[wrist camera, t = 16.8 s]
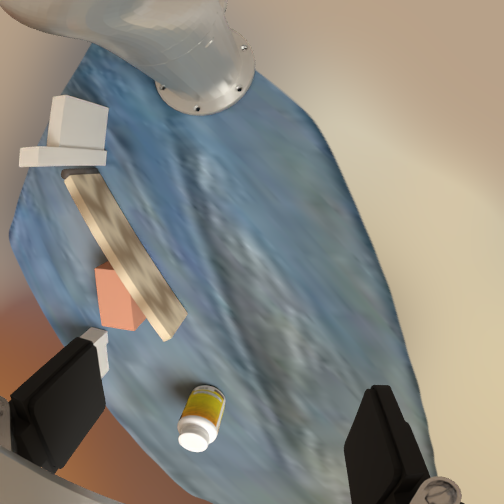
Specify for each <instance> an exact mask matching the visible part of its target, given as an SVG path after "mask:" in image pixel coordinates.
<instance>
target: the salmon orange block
mask: <svg viewBox="0 0 504 504" xmlns="http://www.w3.org/2000/svg"><path fill="white" fill-rule="evenodd" d="M95 277H96V286H97V294H98V302H99V309H100V316H101V322H102V326H107V327H113V328H119V329H125V330H131V331H135V330H136V329H137V328H138V326H139V325H140V324H141V323H142V322H143V321H144V320H145V319H146V316H145V315H144V314H143V312H142V311H141V309H140V308H139V306H138V305H137V303H136V302H135V301H134V299H133V298H132V296H131V295H130V293H129V292H128V290H127V289H126V287H125V286H124V284H123V283H122V281H121V279H120V278H119V276H118V275H117V273H116V272H115V270H114V268H113V267H112V265H111V264H110V262H109V261H107V262H106V263H104V264H102V265H100V266H98V267H96V268H95Z"/></svg>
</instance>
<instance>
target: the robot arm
mask: <svg viewBox="0 0 504 504" xmlns="http://www.w3.org/2000/svg"><path fill="white" fill-rule="evenodd" d="M227 1H228V0H0V6H1V7H2V9H3V10H4V11H5V12H6V13H8V14H9V15H10V16H11V17H12V18H14V19H15V20H17V21H18V22H20V23H22V24H24V25H26V26H28V27H30V28H33V29H36V30H39V31H42V32H45V33H49V34H53V35H58V36H63V37H69V38H74V39H80V40H85V41H89V42H91V43H94V44H97V45H99V46H101V47H103V48H105V49H107V50H108V51H110V52H112V53H114V54H115V55H117V56H119V57H120V58H122V59H123V60H125V61H126V62H128V63H130V64H131V65H133V66H134V67H136V68H137V69H139V70H140V71H142V72H143V73H145V74H146V75H148V76H149V77H151V78H152V79H154V80H155V85H156V87H157V90H158V93H159V94H160V96H161V97H162V99H163V100H164V101H165V102H166V103H167V104H168V105H169V106H171V107H172V108H174V109H175V110H177V111H179V112H181V113H185V114H188V115H194V116H205V115H212V114H215V113H219V112H221V111H223V110H226V109H228V108H229V107H231V106H232V105H234V104H235V103H237V102H238V101H239V100H240V99H241V98H242V97H243V96H244V95H245V93H246V92H247V90H248V89H249V87H250V85H251V83H252V81H253V78H254V73H255V59H254V54H253V51H252V48H251V47H250V45H249V43H248V42H247V40H246V39H245V38H244V37H243V36H242V35H241V34H239V33H238V32H236V31H235V30H233V29H231V28H230V27H229V25H228V22H227V20H226V18H225V15H224V13H225V11H226V6H227ZM244 49H247V50H246V51H243V50H244ZM165 87H166V89H165V90H164V88H165ZM240 88H241V89H242V90H241V91H240V92H239V91H238V89H240ZM197 108H200V110H199V111H197ZM10 397H11V400H10V401H9V402H8V401H7V400H6V399H5V398H3V397H1V396H0V504H124V503H121V502H118V501H115V500H113V499H110V498H107V497H104V496H102V495H100V494H97V493H95V492H92V491H90V490H87V489H85V488H83V487H81V486H78V485H76V484H74V483H72V482H69V481H67V480H65V479H63V478H61V477H59V476H57V475H55V473H56V471H57V470H58V468H59V469H61V468H63V467H64V466H65V464H66V463H67V461H68V460H69V458H70V457H71V456H72V454H73V453H74V451H75V450H76V449H77V447H78V446H79V444H80V443H81V441H82V440H83V439H84V437H85V436H86V434H87V433H88V432H89V430H90V429H91V428H92V426H93V425H94V423H95V422H96V421H97V419H98V418H99V416H100V415H101V414H102V412H103V411H104V409H105V404H106V402H105V396H104V391H103V385H102V380H101V373H100V367H99V360H98V353H97V348H96V346H94V345H93V342H92V341H90V340H87V339H84V338H80V337H76V338H75V339H74V340H72V341H71V342H70V343H69V344H68V345H67V346H65V347H64V348H63V349H62V350H61V351H60V352H59V353H57V354H56V355H55V356H54V357H53V358H52V359H50V360H49V361H48V362H47V363H46V364H45V365H44V366H43V367H41V368H40V369H39V370H38V371H37V372H36V373H35V374H33V375H32V376H31V377H30V378H29V379H28V380H27V381H26V382H24V383H23V384H22V385H21V386H20V387H19V388H18V389H17V390H16V391H14V392H13V393H12V394H11V395H10ZM344 455H345V461H346V467H347V474H348V480H349V487H350V494H351V501H352V504H464V503H462V502H461V497H462V495H461V490H460V488H459V486H458V485H457V484H456V483H455V482H454V481H452V480H450V479H449V478H445V477H432V478H430V475H429V472H428V470H427V467H426V465H425V462H424V459H423V457H422V454H421V452H420V449H419V447H418V444H417V442H416V439H415V437H414V435H413V432H412V430H411V427H410V425H409V424H408V423H407V422H405V420H404V418H403V415H402V413H401V411H400V408H399V406H398V404H397V401H396V399H395V397H394V394H393V392H392V390H391V387H390V386H388V385H373V386H372V387H371V389H367V390H366V391H365V393H364V396H363V399H362V401H361V404H360V407H359V409H358V412H357V415H356V417H355V420H354V422H353V425H352V427H351V429H350V432H349V434H348V437H347V439H346V441H345V445H344ZM41 467H42V468H41Z"/></svg>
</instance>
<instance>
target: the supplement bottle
mask: <svg viewBox="0 0 504 504" xmlns="http://www.w3.org/2000/svg"><path fill="white" fill-rule="evenodd" d="M224 408H225V397H224V395H223V394H222V393H221V391H219V390H218V389H216V388H215V387H212V386H208V385H202V386H198V387H196V388H194V389H193V390H192V392H191V394H190V396H189V398H188V401H187V403H186V405H185V408H184V410H183V413H182V415H181V417H180V420H179V422H178V426H177V427H178V431H179V433H180V435H179V439H178V440H179V443H180V444H181V445H182V446H183V447H184V448H185V449H187V450H190V451H193V452H201V451H204V450H205V449H206V448H207V447H208V444H209V443H211V442H213V441H214V440H215V439H216V437H217V434H218V430H219V427H220V423H221V419H222V415H223V412H224Z"/></svg>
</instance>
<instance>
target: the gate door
mask: <svg viewBox="0 0 504 504" xmlns="http://www.w3.org/2000/svg"><path fill="white" fill-rule="evenodd" d="M61 177H62V178H63V179H65V180H64V183H65V185H66V187H67V188H68V190H69V192H70V194H71V196H72V198H73V200H74V202H75V204H76V205H77V207H78V209H79V211H80V213H81V215H82V216H83V218H84V220H85V222H86V223H87V225H88V227H89V229H90V230H91V232H92V234H93V236H94V237H95V239H96V241H97V242H98V244H99V246H100V247H101V249H102V251H103V252H104V254H105V256H106V257H107V259H108V261H109V262H110V264H111V265H112V267H113V268H114V270H115V272H116V273H117V275H118V276H119V278H120V279H121V281H122V283H123V284H124V286H125V287H126V289H127V290H128V292H129V293H130V295H131V296H132V298H133V299H134V301H135V302H136V303H137V305H138V306H139V308H140V309H141V311H142V312H143V314H144V315H145V316H146V318H147V319H148V321H149V322H150V323H151V325H152V326H153V328H154V329H155V330H156V332H157V333H158V335H159V336H160V337H161V339H162V340H163V341H164V342H165V341H167V340H169V339H171V338H172V337H173V335H174V334H175V332H176V331H177V329H178V328H179V326H180V325H181V323H182V322H183V320H184V319H185V317H186V316H187V314H188V313H187V312H186V310H185V309H184V308H183V306H182V305H181V303H180V302H179V300H178V299H177V297H176V296H175V294H174V293H173V291H172V290H171V289H170V287H169V286H168V284H167V283H166V281H165V280H164V278H163V277H162V275H161V273H160V272H159V270H158V269H157V267H156V266H155V264H154V263H153V261H152V260H151V258H150V257H149V255H148V253H147V252H146V250H145V249H144V247H143V245H142V244H141V242H140V241H139V239H138V237H137V236H136V234H135V233H134V231H133V229H132V228H131V226H130V224H129V223H128V221H127V219H126V218H125V216H124V214H123V213H122V211H121V209H120V208H119V206H118V204H117V203H116V201H115V199H114V197H113V196H112V194H111V192H110V190H109V189H108V187H107V185H106V183H105V182H104V180H103V178H102V176H101V174H99V171H98V169H96V168H86V169H63V170H62V172H61Z"/></svg>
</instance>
